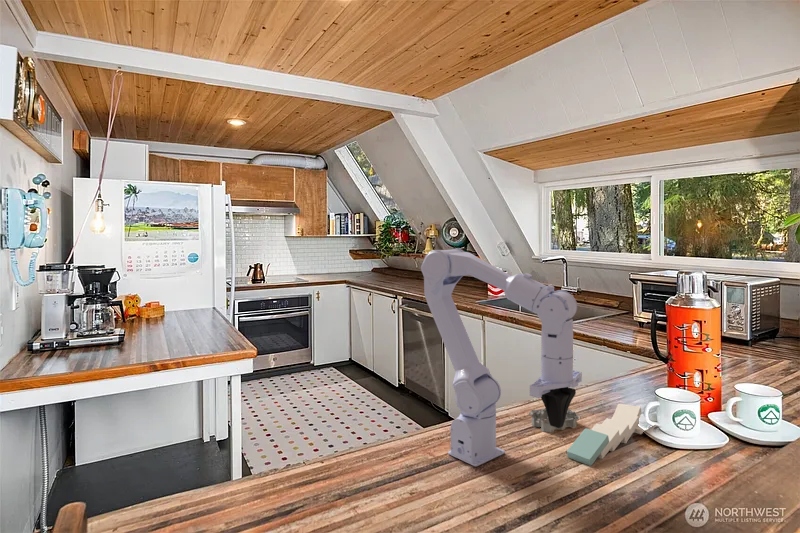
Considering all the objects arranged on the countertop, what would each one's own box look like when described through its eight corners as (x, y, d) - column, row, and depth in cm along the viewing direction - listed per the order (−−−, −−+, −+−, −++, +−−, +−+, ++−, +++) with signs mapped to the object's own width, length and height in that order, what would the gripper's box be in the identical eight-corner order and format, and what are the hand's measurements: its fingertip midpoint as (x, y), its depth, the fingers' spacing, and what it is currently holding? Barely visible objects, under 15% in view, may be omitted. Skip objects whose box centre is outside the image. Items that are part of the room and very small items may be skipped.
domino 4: (632, 427, 110) (640, 406, 116) (609, 423, 113) (618, 403, 119) (633, 433, 111) (641, 412, 116) (610, 429, 114) (619, 409, 120)
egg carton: (545, 435, 112) (545, 418, 112) (526, 423, 119) (526, 407, 119) (582, 428, 116) (582, 411, 115) (562, 417, 123) (562, 401, 122)
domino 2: (601, 452, 99) (618, 429, 104) (578, 444, 103) (596, 423, 107) (602, 459, 99) (619, 436, 104) (579, 451, 103) (597, 429, 108)
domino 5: (624, 437, 106) (638, 416, 111) (602, 431, 109) (616, 411, 114) (625, 443, 106) (639, 422, 111) (603, 437, 110) (617, 417, 115)
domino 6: (640, 429, 111) (655, 420, 116) (619, 423, 115) (634, 415, 120) (640, 436, 111) (655, 427, 116) (618, 430, 115) (634, 421, 120)
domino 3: (611, 445, 102) (628, 424, 107) (589, 438, 106) (606, 417, 111) (613, 451, 103) (629, 430, 107) (590, 444, 106) (607, 423, 111)
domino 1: (589, 459, 96) (608, 435, 101) (566, 451, 100) (585, 428, 104) (590, 466, 96) (609, 441, 101) (567, 457, 100) (586, 434, 105)
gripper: (553, 366, 84) (553, 443, 85) (596, 352, 93) (595, 421, 94) (520, 359, 89) (519, 431, 90) (563, 346, 99) (563, 412, 100)
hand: (556, 425), depth 93 cm, fingers closed
